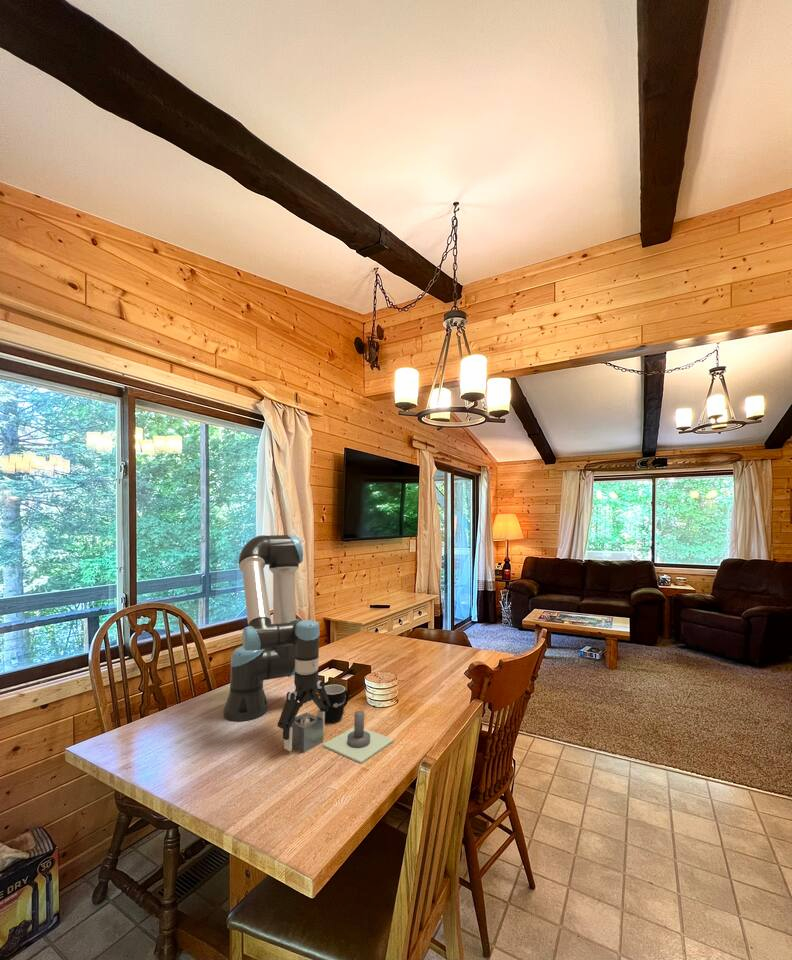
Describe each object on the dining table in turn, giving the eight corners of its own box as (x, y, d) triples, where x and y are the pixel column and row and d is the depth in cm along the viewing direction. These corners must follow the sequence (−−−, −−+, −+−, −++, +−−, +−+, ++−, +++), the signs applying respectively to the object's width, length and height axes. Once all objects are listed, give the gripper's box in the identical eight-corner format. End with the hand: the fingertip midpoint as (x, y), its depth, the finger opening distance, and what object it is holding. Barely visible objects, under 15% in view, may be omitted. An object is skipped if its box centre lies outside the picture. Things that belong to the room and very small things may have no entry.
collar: (286, 744, 137) (287, 721, 137) (305, 734, 143) (306, 712, 144) (303, 752, 132) (304, 728, 133) (322, 741, 139) (323, 719, 139)
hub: (322, 746, 136) (323, 715, 137) (356, 727, 149) (357, 698, 149) (361, 763, 126) (361, 730, 127) (394, 741, 139) (394, 710, 140)
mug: (331, 727, 148) (331, 696, 149) (314, 719, 154) (315, 689, 155) (356, 715, 158) (356, 686, 158) (339, 708, 163) (339, 680, 164)
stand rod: (297, 743, 137) (298, 718, 138) (305, 739, 140) (305, 715, 140) (304, 746, 136) (304, 721, 136) (311, 742, 138) (312, 718, 139)
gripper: (283, 685, 127) (280, 761, 125) (341, 663, 147) (340, 728, 146) (267, 679, 132) (264, 753, 130) (326, 658, 152) (324, 722, 150)
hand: (304, 740), depth 138 cm, fingers open, 13 cm apart
